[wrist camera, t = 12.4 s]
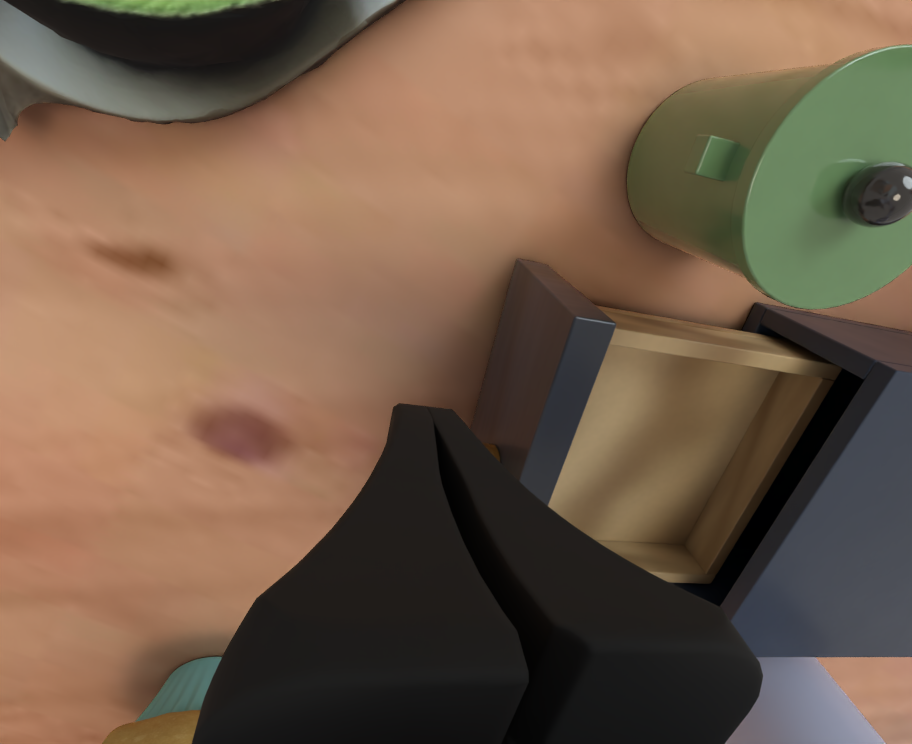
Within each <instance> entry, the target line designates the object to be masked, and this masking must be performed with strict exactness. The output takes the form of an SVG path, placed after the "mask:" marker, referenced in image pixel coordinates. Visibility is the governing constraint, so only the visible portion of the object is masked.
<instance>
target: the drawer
mask: <svg viewBox="0 0 912 744" xmlns="http://www.w3.org/2000/svg"><path fill="white" fill-rule="evenodd" d="M842 369H843V368H841V367H839V366H837V365H836V364H834V363H832V362H830V361H828V360H826V359H824V358H823V357H821V356H819V355H817V354H815V353H813V352H811V351H809V350H808V349H806V348H804V347H802V346H800V345H798V344H796V343H794V342H793V341H791V340H789V339H784V338H779V337H773V336H767V335H762V334H756V333H750V332H745V331H739V330H733V329H727V328H722V327H716V326H710V325H705V324H699V323H693V322H688V321H682V320H676V319H670V318H665V317H659V316H653V315H648V314H642V313H636V312H631V311H625V310H619V309H613V308H608V307H602V306H596V305H594V304H593V303H592V302H591V301H589V300H588V299H587V298H586V297H585V296H584V295H582V294H581V293H580V292H579V291H578V290H577V289H575V288H574V287H573V286H572V285H571V284H569V283H568V282H567V281H566V280H565V279H564V278H562V277H561V276H560V275H559V274H558V273H557V272H555V271H554V270H553V269H552V268H551V267H549V266H548V265H547V264H543V263H538V262H533V261H528V260H523V259H517V260H516V263H515V266H514V270H513V274H512V277H511V281H510V285H509V288H508V292H507V296H506V299H505V303H504V307H503V310H502V314H501V318H500V321H499V325H498V329H497V333H496V336H495V340H494V344H493V347H492V351H491V355H490V358H489V362H488V366H487V369H486V373H485V377H484V380H483V384H482V388H481V391H480V395H479V399H478V403H477V406H476V410H475V414H474V417H473V421H472V425H471V428H470V430H471V431H472V432H473V433H474V435H475V436H476V437H477V438H478V439H479V440H480V441H481V442H482V444H483V445H484V446H485V447H486V448H487V449H488V450H489V451H490V452H491V453H492V455H493V456H494V457H495V458H496V459H497V460H498V461H499V462H500V463H501V464H502V465H503V466H504V467H505V468H506V469H507V470H508V471H509V472H510V473H511V474H512V475H513V476H514V477H515V478H516V479H517V480H519V481H520V482H521V483H522V484H523V485H524V486H525V487H526V488H527V489H528V490H529V491H530V492H532V493H533V494H534V495H535V496H536V497H537V498H539V499H540V500H541V501H542V502H544V503H545V504H546V505H547V506H549V507H550V508H551V509H552V510H554V511H555V512H556V513H557V514H559V515H560V516H561V517H562V518H564V519H565V520H567V521H568V522H569V523H571V524H572V525H573V526H575V527H576V528H578V529H579V530H581V531H582V532H584V533H585V534H587V535H588V536H590V537H591V538H593V539H594V540H596V541H597V542H599V543H600V544H602V545H603V546H605V547H606V548H608V549H610V550H611V551H613V552H615V553H616V554H618V555H620V556H621V557H623V558H625V559H626V560H628V561H630V562H632V563H634V564H635V565H637V566H639V567H641V568H642V569H644V570H646V571H648V572H650V573H651V574H653V575H655V576H657V577H659V578H661V579H663V580H665V581H667V582H672V583H698V584H711V583H712V581H713V579H714V578H715V576H716V574H717V573H718V572H719V570H720V568H721V567H722V565H723V563H724V562H725V560H726V559H727V557H728V555H729V554H730V552H731V550H732V549H733V547H734V545H735V544H736V542H737V541H738V539H739V537H740V536H741V534H742V532H743V531H744V529H745V527H746V526H747V524H748V522H749V521H750V519H751V518H752V516H753V514H754V513H755V511H756V509H757V508H758V506H759V504H760V503H761V501H762V500H763V498H764V496H765V495H766V493H767V491H768V490H769V488H770V486H771V485H772V483H773V482H774V480H775V478H776V477H777V475H778V473H779V472H780V470H781V468H782V467H783V465H784V464H785V462H786V460H787V459H788V457H789V455H790V454H791V452H792V450H793V449H794V447H795V446H796V444H797V442H798V441H799V439H800V437H801V436H802V434H803V432H804V431H805V429H806V428H807V426H808V424H809V423H810V421H811V419H812V418H813V416H814V414H815V413H816V411H817V409H818V408H819V406H820V405H821V403H822V401H823V400H824V398H825V396H826V395H827V393H828V391H829V390H830V388H831V387H832V385H833V383H834V380H836V378H837V377H838V375H839V373H840V372H841V370H842Z"/></svg>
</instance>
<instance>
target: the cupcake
mask: <svg viewBox="0 0 912 744" xmlns="http://www.w3.org/2000/svg"><path fill="white" fill-rule="evenodd" d="M221 659H222V657H206V658H200V659H196V660H193V661H190V662H188V663H186V664H184V665H182V666H180V667H179V668H177V669H176V670H175V671H174V672H173V673H172V674H171V675H170V676H169V678H168V679H167V681H166V682H165V684H164V685H163V687H162V688H161V690H160V691H159V692H158V694H157V695H156V696H155V698H154V699H153V700H152V702H151V703H150V704H149V706H148V707H147V708H146V709H145V711H144V712H143V713H142V714H141V715H140V717H139V718H138V719H137V720H136V721H135V722H133V723H129V724H125V725H122V726H119V727H117V728H116V729H114V730H113V731H112V732H111V733H110V734H109V735H108V736H107V737H106V739H105V740H104V741H103V743H102V744H192V740H193V737H194V733H195V729H196V725H197V722H198V718H199V714H200V711H201V707H202V703H203V700H204V697H205V695H206V692H207V690H208V687H209V685H210V683H211V680H212V678H213V675H214V673H215V671H216V669H217V667H218V665H219V663H220V661H221Z"/></svg>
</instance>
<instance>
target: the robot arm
mask: <svg viewBox="0 0 912 744" xmlns="http://www.w3.org/2000/svg"><path fill="white" fill-rule="evenodd" d="M192 744H886V743H885V742H884V740H883V739H882V738H881V737H880V735H879V734H878V733H877V732H876V731H875V729H874V728H873V727H872V726H871V724H870V723H869V722H868V721H867V720H866V718H865V717H864V716H863V715H862V713H861V712H860V711H859V710H858V709H857V707H856V706H855V705H854V704H853V702H852V701H851V700H850V699H849V698H848V696H847V695H846V694H845V693H844V691H843V690H842V689H841V688H840V687H839V685H838V684H837V683H836V682H835V680H834V679H833V678H832V677H831V676H830V674H829V673H828V672H827V671H826V669H825V668H824V667H823V666H822V665H821V663H820V662H819V661H818V660H817V658H816V657H756V656H755V655H754V654H753V652H752V651H751V649H750V648H749V647H748V645H747V644H746V642H745V641H744V639H743V638H742V637H741V635H740V634H739V632H738V631H737V630H736V628H735V627H734V625H733V624H732V622H731V621H730V620H729V618H728V617H727V615H726V614H725V613H724V611H723V610H722V608H721V607H719V606H717V605H715V604H713V603H711V602H709V601H707V600H705V599H702V598H700V597H698V596H696V595H694V594H692V593H690V592H688V591H686V590H684V589H682V588H679V587H677V586H675V585H673V584H671V583H669V582H667V581H665V580H663V579H661V578H659V577H657V576H655V575H653V574H651V573H650V572H648V571H646V570H644V569H642V568H641V567H639V566H637V565H635V564H634V563H632V562H630V561H628V560H626V559H625V558H623V557H621V556H620V555H618V554H616V553H615V552H613V551H611V550H610V549H608V548H606V547H605V546H603V545H602V544H600V543H599V542H597V541H596V540H594V539H593V538H591V537H590V536H588V535H587V534H585V533H584V532H582V531H581V530H579V529H578V528H576V527H575V526H573V525H572V524H571V523H569V522H568V521H567V520H565V519H564V518H562V517H561V516H560V515H559V514H557V513H556V512H555V511H554V510H552V509H551V508H550V507H549V506H547V505H546V504H545V503H544V502H542V501H541V500H540V499H539V498H537V497H536V496H535V495H534V494H533V493H532V492H530V491H529V490H528V489H527V488H526V487H525V486H524V485H523V484H522V483H521V482H520V481H519V480H517V479H516V478H515V477H514V476H513V475H512V474H511V473H510V472H509V471H508V470H507V469H506V468H505V467H504V466H503V465H502V464H501V463H500V462H499V461H498V460H497V459H496V458H495V457H494V456H493V455H492V453H491V452H490V451H489V450H488V449H487V448H486V447H485V446H484V445H483V444H482V442H481V441H480V440H479V439H478V438H477V437H476V436H475V435H474V433H473V432H472V431H471V430H470V429H469V428H468V426H467V425H466V424H465V423H464V422H463V421H462V420H461V418H460V417H459V416H458V415H457V414H456V413H455V412H454V411H453V410H452V409H445V408H436V407H427V406H419V405H410V404H401V403H399V404H397V405H396V406H394V407H393V411H392V416H391V422H390V427H389V432H388V438H387V443H386V445H385V448H384V450H383V453H382V455H381V457H380V459H379V460H378V462H377V464H376V466H375V468H374V470H373V472H372V474H371V475H370V477H369V479H368V480H367V482H366V484H365V485H364V487H363V488H362V490H361V491H360V493H359V494H358V496H357V497H356V499H355V500H354V501H353V503H352V504H351V505H350V507H349V508H348V509H347V510H346V512H345V513H344V514H343V516H342V517H341V518H340V519H339V521H338V522H337V523H336V524H335V525H334V527H333V528H332V529H331V530H330V531H329V532H328V533H327V534H326V535H325V537H324V538H323V539H322V540H321V541H320V542H319V543H318V544H317V545H316V546H315V547H314V548H313V549H312V550H311V551H310V552H309V553H308V554H307V555H306V556H305V557H304V558H303V559H302V560H301V561H300V562H299V563H298V564H297V565H296V566H294V567H293V568H292V569H291V570H290V571H289V572H287V573H286V574H285V575H284V576H283V577H282V578H280V579H279V580H278V581H277V582H276V583H274V584H273V585H272V586H271V587H270V588H268V589H267V590H266V591H265V592H264V593H263V594H261V595H260V596H259V597H258V598H257V599H256V600H255V602H254V603H253V605H252V607H251V608H250V610H249V611H248V613H247V615H246V616H245V618H244V620H243V621H242V623H241V625H240V626H239V628H238V630H237V631H236V633H235V635H234V637H233V638H232V640H231V642H230V644H229V645H228V647H227V649H226V651H225V653H224V655H223V657H222V659H221V661H220V663H219V665H218V667H217V669H216V671H215V673H214V675H213V678H212V680H211V683H210V685H209V687H208V690H207V692H206V695H205V697H204V700H203V703H202V707H201V711H200V714H199V718H198V722H197V725H196V729H195V733H194V737H193V740H192Z"/></svg>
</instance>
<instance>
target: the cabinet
mask: <svg viewBox="0 0 912 744" xmlns="http://www.w3.org/2000/svg"><path fill="white" fill-rule="evenodd" d="M742 331H745V332H750V333H756V334H762V335H767V336H773V337H779V338H784V339H789V340H791V341H793V342H794V343H796V344H798V345H800V346H802V347H804V348H806V349H808V350H809V351H811V352H813V353H815V354H817V355H819V356H821V357H823V358H824V359H826V360H828V361H830V362H832V363H834V364H836V365H837V366H839V367H841V368H843V369H842V370H841V372H840V373H839V375H838V377H837V378H836V380H834V383H833V385H832V387H831V388H830V390H829V391H828V393H827V395H826V396H825V398H824V400H823V401H822V403H821V405H820V406H819V408H818V409H817V411H816V413H815V414H814V416H813V418H812V419H811V421H810V423H809V424H808V426H807V428H806V429H805V431H804V432H803V434H802V436H801V437H800V439H799V441H798V442H797V444H796V446H795V447H794V449H793V450H792V452H791V454H790V455H789V457H788V459H787V460H786V462H785V464H784V465H783V467H782V468H781V470H780V472H779V473H778V475H777V477H776V478H775V480H774V482H773V483H772V485H771V486H770V488H769V490H768V491H767V493H766V495H765V496H764V498H763V500H762V501H761V503H760V504H759V506H758V508H757V509H756V511H755V513H754V514H753V516H752V518H751V519H750V521H749V522H748V524H747V526H746V527H745V529H744V531H743V532H742V534H741V536H740V537H739V539H738V541H737V542H736V544H735V545H734V547H733V549H732V550H731V552H730V554H729V555H728V557H727V559H726V560H725V562H724V563H723V565H722V567H721V568H720V570H719V572H718V573H717V574H716V576H715V578H714V579H713V581H712V583H711V584H698V583H672V582H669V583H671V584H673V585H675V586H677V587H679V588H682V589H684V590H686V591H688V592H690V593H692V594H694V595H696V596H698V597H700V598H702V599H705V600H707V601H709V602H711V603H713V604H715V605H717V606H719V607H721V608H722V610H723V611H724V613H725V614H726V615H727V617H728V618H729V620H730V621H731V622H732V624H733V625H734V627H735V628H736V630H737V631H738V632H739V634H740V635H741V637H742V638H743V639H744V641H745V642H746V644H747V645H748V647H749V648H750V649H751V651H752V652H753V654H754V655H755V656H756V657H912V332H908V331H903V330H898V329H892V328H887V327H882V326H877V325H872V324H866V323H861V322H856V321H851V320H846V319H840V318H835V317H830V316H825V315H820V314H815V313H809V312H804V311H799V310H794V309H789V308H783V307H778V306H773V305H768V304H763V303H755V305H754V307H753V309H752V311H751V313H750V315H749V317H748V319H747V321H746V323H745V325H744V327H743V329H742Z"/></svg>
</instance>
